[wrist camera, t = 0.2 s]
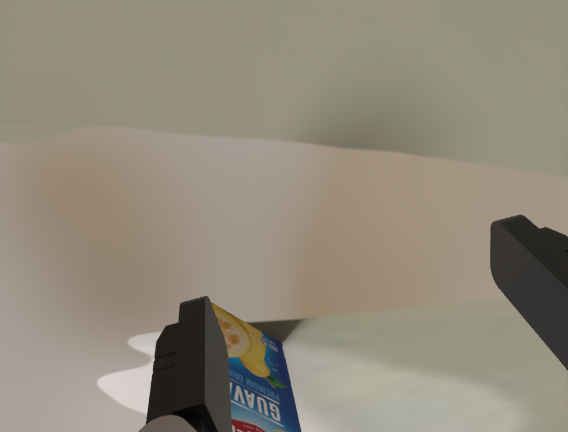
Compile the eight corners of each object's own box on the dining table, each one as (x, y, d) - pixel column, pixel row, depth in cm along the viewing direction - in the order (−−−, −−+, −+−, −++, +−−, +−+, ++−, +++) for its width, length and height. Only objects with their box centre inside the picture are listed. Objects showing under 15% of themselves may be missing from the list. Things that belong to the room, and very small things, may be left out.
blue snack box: (242, 383, 54) (266, 617, 35) (159, 340, 49) (133, 582, 30) (282, 343, 52) (331, 567, 33) (200, 295, 48) (201, 522, 28)
